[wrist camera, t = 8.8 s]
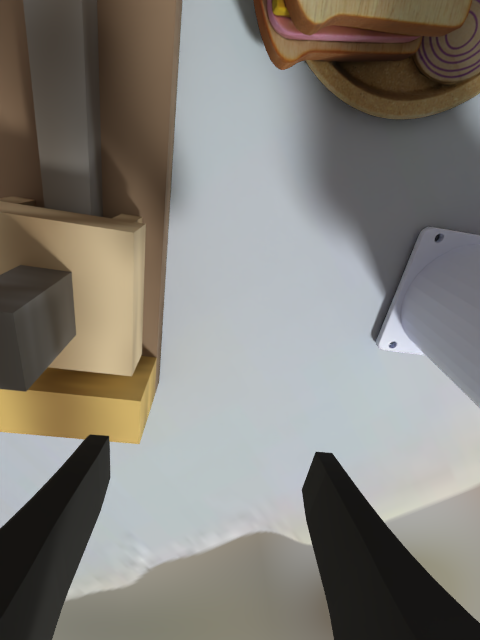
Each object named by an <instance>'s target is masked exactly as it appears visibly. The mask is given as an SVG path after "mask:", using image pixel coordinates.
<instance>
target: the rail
mask: <svg viewBox="0 0 480 640" xmlns="http://www.w3.org/2000/svg"><path fill="white" fill-rule="evenodd" d="M181 13H182V0H0V198H7V197H13V196H14V197H20V198H26V199H33V200H36V207H41V208H47V209H54V210H60V211H67V212H73V213H79V214H86V215H92V216H99V217H105V218H111V219H112V218H114V217H116V216H118V215H120V214H127V215H134V216H140V217H143V218H142V223H143V224H146V233H145V267H144V300H143V333H142V355H141V357H140V360H139V362H138V364H137V366H136V368H135V371H134V373H133V375H132V376H123V375H114V374H105V373H96V372H87V371H77V370H68V369H59V368H50V367H47V369H46V370H45V371H44V372H43V373H42V374H41V375H40V377H39V378H38V379H37V380H36V381H35V382H34V383H33V385H32V386H31V387H30V388H29V389H28V390H27V391H26V392H24V391H15V390H5V389H0V432H9V433H20V434H31V435H43V436H54V437H65V438H77V439H86V437H87V436H89V435H90V434H92V435H105V436H109V441H111V442H122V443H134V444H140V440H141V437H142V434H143V431H144V428H145V425H146V421H147V418H148V415H149V412H150V409H151V405H152V402H153V399H154V396H155V393H156V390H157V386H158V383H159V374H160V358H161V341H162V325H163V308H164V292H165V275H166V259H167V243H168V226H169V210H170V193H171V177H172V160H173V144H174V128H175V111H176V95H177V78H178V62H179V45H180V29H181Z"/></svg>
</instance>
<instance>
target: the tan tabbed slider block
mask: <svg viewBox="0 0 480 640" xmlns="http://www.w3.org/2000/svg"><path fill="white" fill-rule="evenodd" d="M142 218H143V217H140V216H134V215H127V214H120V215H118V216H116V217H114V218H112V219H111V218H105V217H99V216H92V215H86V214H79V213H73V212H67V211H60V210H54V209H47V208H41V207H36V200H33V199H26V198H20V197H14V196H13V197H7V198H0V389H5V390H15V391H24V392H26V391H27V390H28V389H29V388H30V387H31V386H32V385H33V383H34V382H35V381H36V380H37V379H38V378H39V377H40V375H41V374H42V373H43V372H44V371H45V370H46V369H47V367H50V368H59V369H68V370H77V371H87V372H96V373H105V374H114V375H123V376H132V375H133V373H134V371H135V368H136V366H137V364H138V362H139V360H140V357H141V355H142V333H143V300H144V267H145V233H146V224H143V223H142Z"/></svg>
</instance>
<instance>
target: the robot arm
mask: <svg viewBox="0 0 480 640" xmlns="http://www.w3.org/2000/svg"><path fill="white" fill-rule="evenodd" d="M438 234H440V238H439V239H438V240H437V241H435V240H434V239H435V237H436V235H438ZM391 342H394V343H393V344H392V345H389V344H390V343H391ZM376 345H377V346H378V347H379V348H380V349H381V350H386V351H394V352H402V353H410V354H418V355H426V356H427V357H428V358H429V359H430V360H431V361H432V362H433V363H434V364H435V365H436V366H437V367H438V368H439V369H440V370H441V371H442V372H443V373H444V374H445V375H446V376H447V377H448V378H449V379H451V380H452V381H453V382H454V383H455V384H456V385H457V386H458V387H459V388H460V389H461V390H462V391H463V392H464V393H465V394H466V395H467V396H468V397H469V398H470V399H471V400H472V401H473V402H474V403H475V404H476V405H477V406H478V407H479V408H480V235H477V234H471V233H465V232H459V231H453V230H448V229H442V228H436V227H426V228H424V229H423V230H422V231H421V232H420V234H419V236H418V239H417V241H416V244H415V246H414V249H413V251H412V254H411V256H410V259H409V261H408V263H407V266H406V268H405V271H404V273H403V276H402V278H401V281H400V283H399V286H398V288H397V291H396V293H395V296H394V298H393V301H392V303H391V306H390V308H389V311H388V313H387V315H386V318H385V320H384V323H383V325H382V328H381V330H380V333H379V335H378V338H377V340H376ZM109 480H110V445H109V436H105V435H92V434H90V435H89V436H87V437H86V439H85V440H84V441H83V442H82V443H81V445H80V446H79V447H78V448H77V449H76V451H75V452H74V453H73V454H72V455H71V456H70V457H69V459H68V460H67V461H66V462H65V463H64V464H63V465H62V466H61V468H60V469H59V470H58V471H57V472H56V473H55V474H54V475H53V476H52V477H51V478H50V479H49V481H48V482H47V483H46V484H45V485H44V486H43V487H42V488H41V489H40V490H39V491H38V492H37V493H36V494H35V495H34V496H33V497H32V498H31V499H30V500H29V501H28V502H27V503H26V504H25V505H24V506H23V507H22V508H21V509H20V510H19V511H18V512H17V513H16V514H15V515H14V516H13V517H12V518H11V519H10V520H9V521H8V522H7V523H6V524H5V525H4V526H2V527H1V528H0V640H52V638H53V634H54V631H55V628H56V625H57V622H58V619H59V616H60V613H61V609H62V606H63V604H64V601H65V598H66V596H67V593H68V590H69V588H70V585H71V583H72V580H73V578H74V575H75V573H76V570H77V568H78V566H79V563H80V561H81V558H82V556H83V553H84V551H85V548H86V546H87V543H88V541H89V538H90V536H91V533H92V531H93V528H94V526H95V523H96V521H97V518H98V516H99V513H100V511H101V508H102V504H103V501H104V498H105V494H106V491H107V487H108V484H109ZM302 494H303V501H304V508H305V515H306V521H307V525H308V529H309V533H310V537H311V541H312V545H313V548H314V552H315V556H316V560H317V564H318V568H319V572H320V576H321V580H322V584H323V587H324V591H325V595H326V600H327V604H328V609H329V613H330V618H331V624H332V630H333V636H334V640H480V623H479V622H478V621H477V620H476V619H474V618H473V617H472V616H471V615H470V614H469V613H468V612H467V611H466V610H465V609H464V608H463V607H462V606H461V605H460V604H459V603H458V602H457V601H456V600H455V599H454V598H453V597H451V595H450V594H449V593H448V592H446V591H445V589H444V588H443V587H442V586H441V585H439V584H438V582H437V581H435V579H434V578H433V577H432V576H431V575H430V574H429V573H428V572H427V571H426V570H425V569H424V568H423V567H422V565H421V564H420V563H419V562H418V561H417V560H416V559H415V558H414V557H413V556H412V555H411V554H410V552H409V551H408V550H407V549H406V548H405V547H404V546H403V545H402V543H401V542H400V541H399V540H398V539H397V538H396V536H395V535H394V534H393V533H392V531H391V530H390V529H389V528H388V527H387V525H386V524H385V523H384V522H383V520H382V519H381V518H380V517H379V515H378V514H377V513H376V512H375V510H374V509H373V508H372V506H371V505H370V504H369V503H368V501H367V500H366V499H365V497H364V496H363V495H362V493H361V492H360V491H359V489H358V488H357V487H356V485H355V484H354V482H353V481H352V480H351V478H350V477H349V476H348V474H347V473H346V471H345V470H344V469H343V467H342V466H341V465H340V463H339V462H338V460H337V459H336V458H335V456H334V455H333V454H332V453H325V452H316V453H315V456H314V458H313V461H312V464H311V466H310V469H309V472H308V474H307V477H306V480H305V483H304V485H303V488H302Z"/></svg>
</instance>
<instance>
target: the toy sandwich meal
mask: <svg viewBox="0 0 480 640" xmlns="http://www.w3.org/2000/svg"><path fill="white" fill-rule="evenodd" d="M253 1H254V7H255V13H256V17H257V21H258V26H259V30H260V33H261V37H262V40H263V43H264V46H265V48H266V51H267V53H268V55H269V57H270V60H271V61H272V62H273V64H274V65H275V66H276V67H277V68H278V69H280V70H285V69H288V68H290V67H292V66H293V65H295V64H296V63H298V62H300V61H304V60H305V61H306V62H307V64H308V65H309V67H310V69H311V70H312V71H313V73H314V74H315V75H316V76H317V78H318V79H319V80H320V81H321V82H322V83H323V84H324V85H325V86H326V87H327V88H328V89H329V90H330V91H331V92H332V93H333V94H334V95H336V96H337V97H338V98H339V99H341V100H342V101H344V102H345V103H347V104H348V105H350V106H352V107H353V108H356V109H358V110H360V111H362V112H365V113H367V114H369V115H373V116H377V117H381V118H387V119H416V118H421V117H426V116H430V115H434V114H438V113H441V112H444V111H446V110H449V109H451V108H454V107H456V106H458V105H460V104H462V103H464V102H466V101H468V100H469V99H471V98H473V97H474V96H476V95H478V94H479V93H480V0H253Z"/></svg>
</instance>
